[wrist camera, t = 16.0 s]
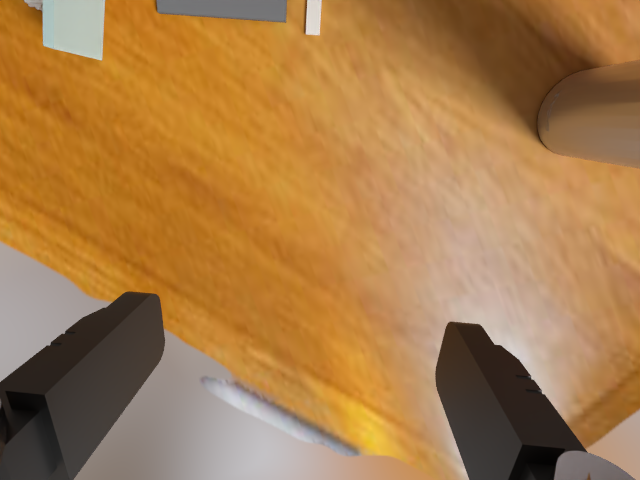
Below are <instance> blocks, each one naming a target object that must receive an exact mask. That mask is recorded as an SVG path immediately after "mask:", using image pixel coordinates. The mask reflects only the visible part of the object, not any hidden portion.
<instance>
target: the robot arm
mask: <svg viewBox="0 0 640 480" xmlns="http://www.w3.org/2000/svg"><path fill="white" fill-rule="evenodd" d="M537 124H538V133H539V137H540V139H541V140H542V142H543V144H544V145H545V146H546V147H547V148H548V149H549V150H551V151H552V152H554V153H556V154H559V155H563V156H569V157H575V158H580V159H585V160H591V161H597V162H603V163H609V164H615V165H621V166H627V167H633V168H639V169H640V60H636V61H631V62H626V63H620V64H615V65H609V66H604V67H599V68H594V69H588V70H583V71H579V72H577V73H574V74H571V75H569V76H568V77H566V78H564V79H563V80H561V81H560V82H559V83H558V84H557V85H555V86H554V87H553V89H552V90H551V91H550V92H549V93H548V95H547V96H546V98H545V99H544V101H543V103H542V105H541V108H540V111H539V115H538V120H537ZM164 346H165V337H164V329H163V320H162V311H161V303H160V299H159V297H158V295H156V294H151V293H140V292H125V293H124V294H122V295H121V296H120V297H119V298H117V299H116V300H115V301H114V302H112V303H111V304H110V305H109V306H108V307H106V308H102V309H100V310H98V311H96V312H94V313H92V314H89V315H88V316H85V317H83V318H82V319H80V320H79V321H78V322H77V323H75V324H74V325H73V326H71V327H70V328H69V329H68V330H66V331H65V334H61V335H60V336H59V337H57V338H56V339H55V340H53V341H52V342H51V345H50V346H46V347H45V348H43V349H42V350H41V351H39V352H38V353H37V354H36V355H34V356H33V357H32V358H30V359H29V360H28V361H27V362H25V363H24V364H23V365H22V366H20V367H19V368H18V369H16V370H15V371H14V372H13V373H11V374H10V375H9V376H7V377H6V378H5V379H4V380H2V381H1V382H0V480H73V479H74V478H75V477H76V475H77V474H78V472H79V471H80V470H81V468H82V467H83V466H84V464H85V463H86V461H87V460H88V459H89V457H90V456H91V455H92V453H93V452H94V451H95V449H96V448H97V446H98V445H99V444H100V442H101V441H102V440H103V438H104V437H105V436H106V434H107V433H108V431H109V430H110V429H111V427H112V426H113V425H114V423H115V422H116V421H117V419H118V418H119V417H120V415H121V414H122V412H123V411H124V410H125V408H126V407H127V405H128V404H129V403H130V401H131V400H132V399H133V397H134V396H135V395H136V393H137V392H138V390H139V389H140V388H141V386H142V385H143V384H144V382H145V381H146V380H147V378H148V377H149V375H150V374H151V373H152V371H153V370H154V369H155V367H156V366H157V365H158V363H159V361H160V360H161V357H162V354H163V351H164ZM436 387H437V391H438V394H439V397H440V399H441V402H442V405H443V408H444V410H445V413H446V416H447V419H448V421H449V424H450V427H451V430H452V433H453V435H454V438H455V441H456V444H457V446H458V449H459V452H460V455H461V457H462V460H463V463H464V466H465V469H466V471H467V474H468V477H469V480H635V479H634V478H633V477H632V476H630V475H629V474H628V473H627V472H625V471H624V470H622V469H621V468H619V467H618V466H616V465H614V464H613V463H611V462H609V461H607V460H605V459H603V458H601V457H599V456H596V455H594V454H591V453H588V452H587V451H586V450H585V448H584V447H583V446H582V444H581V443H580V441H579V440H578V439H577V437H576V436H575V435H574V433H573V432H572V431H571V429H570V428H569V427H568V425H567V424H566V423H565V421H564V420H563V419H562V417H561V416H560V415H559V413H558V412H557V411H556V409H555V408H554V406H553V405H552V404H551V402H550V401H549V400H548V398H547V397H546V396H545V395H544V394H542V390H541V389H540V388H539V386H538V385H537V384H536V382H535V381H534V380H532V379H531V376H530V374H529V373H528V371H527V370H526V369H525V367H524V366H523V365H522V363H521V362H520V361H519V360H518V359H517V358H516V357H515V356H513V355H512V354H511V353H510V352H508V351H507V350H506V349H505V348H503V347H502V346H501V345H494V343H493V342H492V340H491V339H490V337H489V336H488V335H487V333H486V332H485V330H484V329H483V327H482V326H481V325H479V324H471V323H460V322H449V323H448V324H447V326H446V329H445V333H444V337H443V341H442V345H441V349H440V354H439V358H438V362H437V366H436Z"/></svg>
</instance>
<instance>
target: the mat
mask: <svg viewBox="0 0 640 480" xmlns="http://www.w3.org/2000/svg"><path fill="white" fill-rule="evenodd" d="M286 6H287V0H157V10H158V13H160V14H173V15H187V16H202V17H216V18H230V19H244V20H258V21H272V22H286Z"/></svg>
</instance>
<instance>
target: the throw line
mask: <svg viewBox="0 0 640 480" xmlns="http://www.w3.org/2000/svg"><path fill="white" fill-rule="evenodd" d="M321 3H322V0H307V18H306V35H320V19H321Z"/></svg>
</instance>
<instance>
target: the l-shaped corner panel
mask: <svg viewBox="0 0 640 480" xmlns="http://www.w3.org/2000/svg"><path fill="white" fill-rule="evenodd" d="M24 1H25V3H28V6H29V7H35V8H36V9H38V10H39V9H40V10H41V11H42V12H43V46H46V47H49V48H53V49H56V50H60V51H65V52H69V53H73V54H77V55H81V56H86V57H90V58H94V59H98V60H102V51H103V30H104V9H105V0H24Z"/></svg>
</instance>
